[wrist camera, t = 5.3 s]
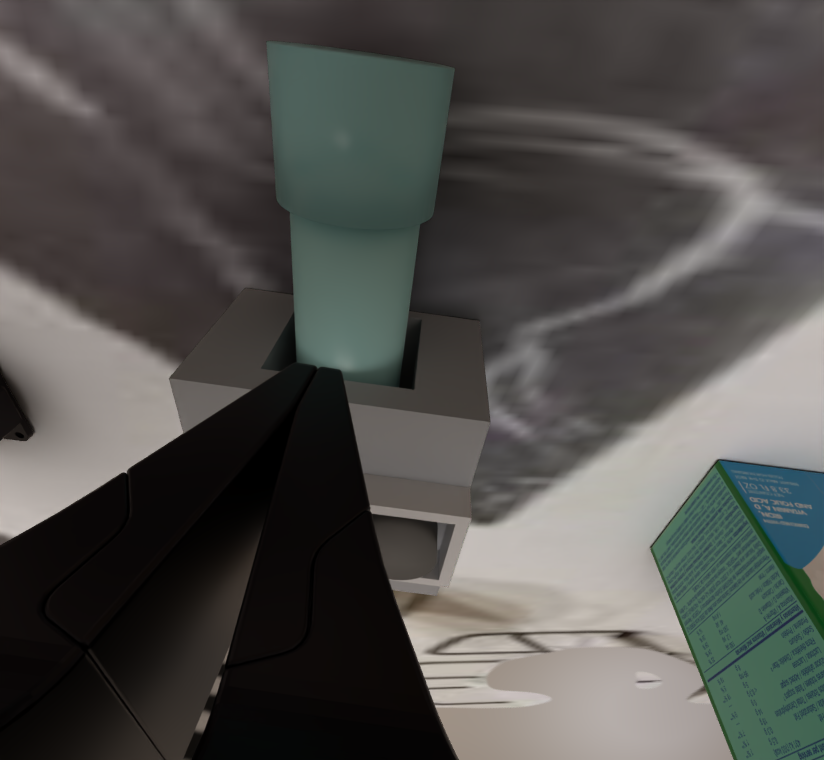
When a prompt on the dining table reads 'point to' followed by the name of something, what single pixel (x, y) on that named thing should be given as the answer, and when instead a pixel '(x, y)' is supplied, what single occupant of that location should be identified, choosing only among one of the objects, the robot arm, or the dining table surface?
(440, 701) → the dining table surface
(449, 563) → the housing
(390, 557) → the plunger
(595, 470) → the dining table surface
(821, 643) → the milk carton
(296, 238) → the cartridge
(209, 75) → the dining table surface
